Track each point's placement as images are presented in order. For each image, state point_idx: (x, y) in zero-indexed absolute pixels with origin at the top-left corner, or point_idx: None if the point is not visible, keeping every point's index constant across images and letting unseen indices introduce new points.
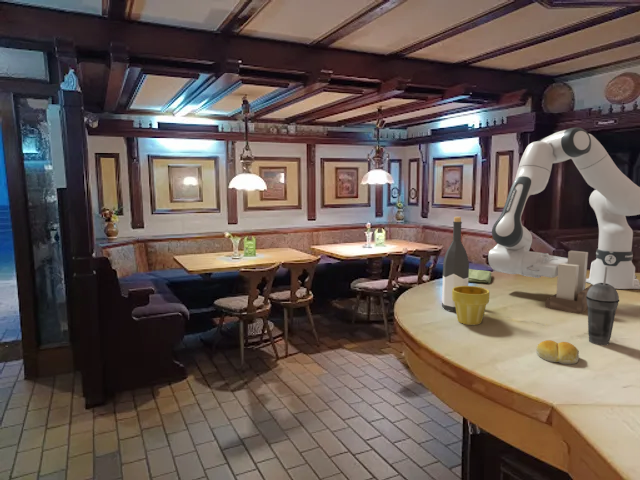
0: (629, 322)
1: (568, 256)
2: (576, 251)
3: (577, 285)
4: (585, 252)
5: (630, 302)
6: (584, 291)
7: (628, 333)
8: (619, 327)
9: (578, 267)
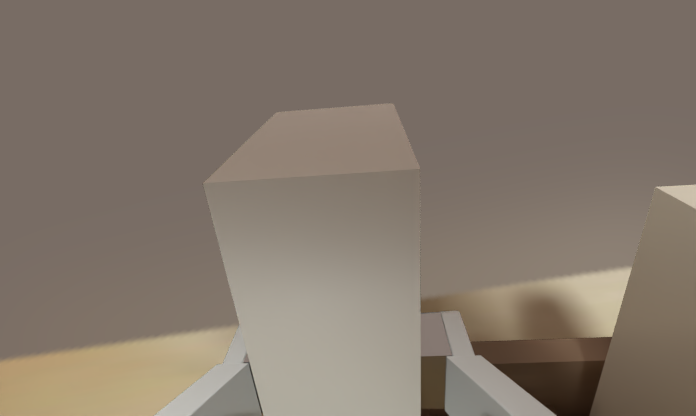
0: (462, 303)
1: (416, 266)
2: (293, 142)
3: (608, 358)
4: (320, 112)
5: (115, 354)
6: (574, 346)
7: (601, 283)
8: (565, 309)
9: (664, 209)
